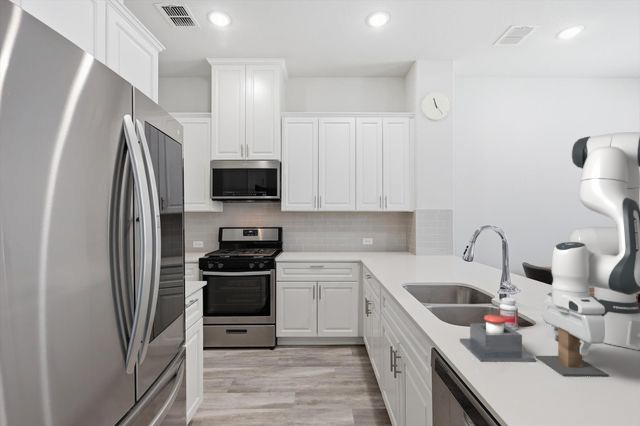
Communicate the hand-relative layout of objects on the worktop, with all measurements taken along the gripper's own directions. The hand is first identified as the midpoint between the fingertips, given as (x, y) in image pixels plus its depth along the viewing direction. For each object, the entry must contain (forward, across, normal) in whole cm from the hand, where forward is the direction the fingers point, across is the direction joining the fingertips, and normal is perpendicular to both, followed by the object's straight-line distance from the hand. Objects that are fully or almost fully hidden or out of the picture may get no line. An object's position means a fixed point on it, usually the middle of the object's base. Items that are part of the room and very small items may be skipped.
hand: (570, 347), depth 99 cm
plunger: (+4, -11, -16) cm, 20 cm away
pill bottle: (+6, -33, 0) cm, 33 cm away
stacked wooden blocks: (+5, 0, 0) cm, 5 cm away
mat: (+5, 0, 0) cm, 5 cm away
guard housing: (+5, -11, -16) cm, 20 cm away
